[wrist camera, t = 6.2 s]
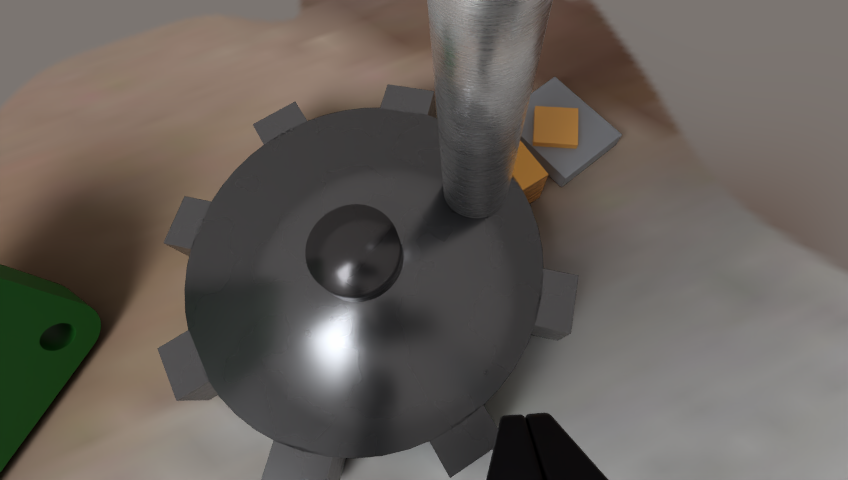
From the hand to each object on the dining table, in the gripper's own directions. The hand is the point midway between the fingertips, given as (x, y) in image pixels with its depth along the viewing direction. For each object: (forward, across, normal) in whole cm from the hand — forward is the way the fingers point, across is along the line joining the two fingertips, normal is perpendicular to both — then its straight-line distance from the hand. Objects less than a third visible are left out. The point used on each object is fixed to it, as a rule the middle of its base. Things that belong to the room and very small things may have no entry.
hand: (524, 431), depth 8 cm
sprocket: (+10, +4, +2) cm, 11 cm away
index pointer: (+14, -4, -2) cm, 15 cm away
